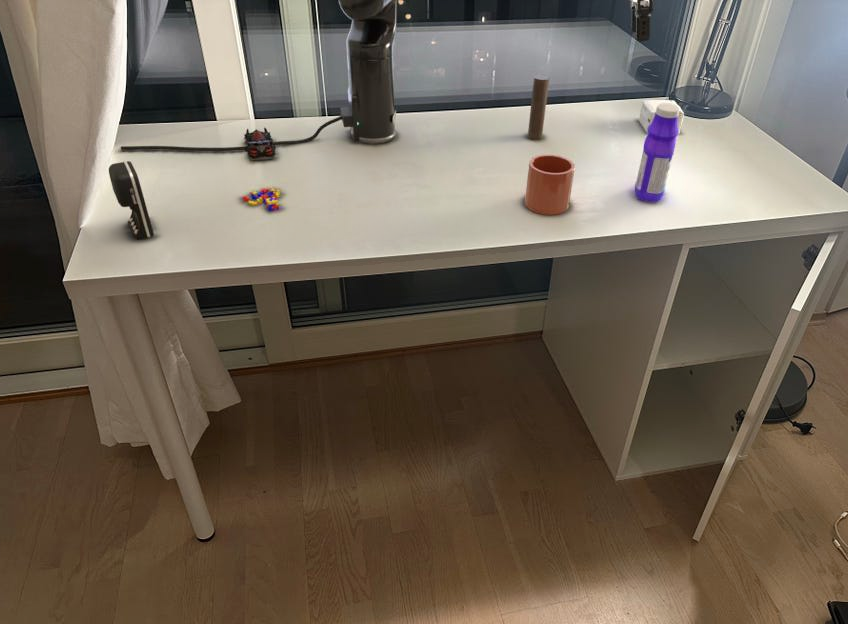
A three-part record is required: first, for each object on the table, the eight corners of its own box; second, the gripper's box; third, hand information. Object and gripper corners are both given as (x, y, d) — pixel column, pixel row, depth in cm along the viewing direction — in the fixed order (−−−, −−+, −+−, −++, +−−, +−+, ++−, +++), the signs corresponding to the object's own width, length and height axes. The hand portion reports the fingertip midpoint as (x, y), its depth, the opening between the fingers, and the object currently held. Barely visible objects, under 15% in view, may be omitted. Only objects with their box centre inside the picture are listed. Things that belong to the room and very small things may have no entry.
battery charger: (123, 223, 120) (103, 160, 113) (146, 219, 122) (128, 156, 114) (131, 243, 116) (111, 178, 108) (155, 237, 117) (137, 174, 110)
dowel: (530, 140, 154) (536, 80, 146) (525, 134, 157) (531, 74, 148) (544, 139, 155) (551, 79, 147) (539, 133, 157) (546, 74, 149)
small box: (637, 120, 166) (642, 99, 163) (670, 121, 167) (675, 99, 164) (646, 134, 160) (651, 112, 157) (679, 134, 161) (685, 112, 158)
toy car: (247, 162, 140) (244, 142, 137) (242, 138, 149) (239, 119, 146) (278, 159, 142) (275, 140, 139) (271, 135, 150) (269, 116, 148)
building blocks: (274, 188, 132) (273, 180, 131) (290, 206, 127) (289, 198, 126) (240, 195, 129) (238, 187, 128) (255, 214, 124) (254, 206, 123)
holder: (533, 216, 128) (538, 176, 123) (519, 195, 134) (523, 156, 129) (575, 213, 130) (581, 172, 125) (559, 192, 136) (564, 153, 131)
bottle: (663, 205, 134) (685, 115, 123) (632, 201, 134) (652, 111, 123) (662, 188, 139) (684, 101, 128) (633, 185, 140) (652, 97, 129)
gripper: (615, -69, 124) (615, 31, 132) (621, -63, 112) (622, 46, 121) (659, -75, 122) (656, 26, 131) (670, -70, 111) (667, 41, 120)
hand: (640, 36), depth 126 cm, fingers open, 8 cm apart
